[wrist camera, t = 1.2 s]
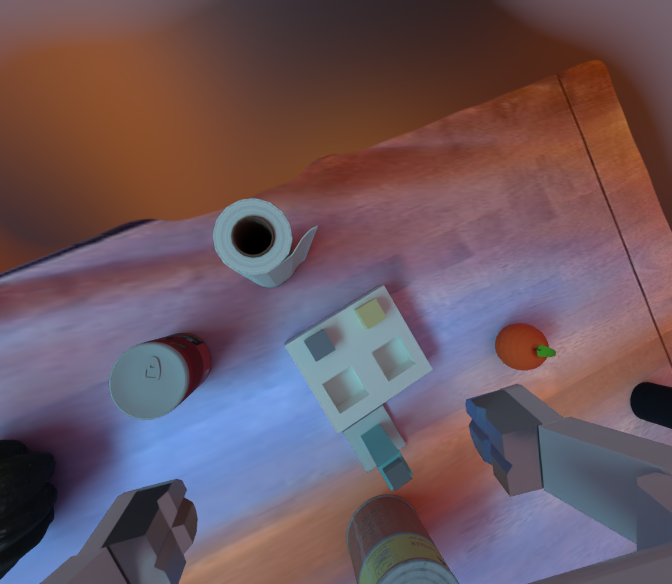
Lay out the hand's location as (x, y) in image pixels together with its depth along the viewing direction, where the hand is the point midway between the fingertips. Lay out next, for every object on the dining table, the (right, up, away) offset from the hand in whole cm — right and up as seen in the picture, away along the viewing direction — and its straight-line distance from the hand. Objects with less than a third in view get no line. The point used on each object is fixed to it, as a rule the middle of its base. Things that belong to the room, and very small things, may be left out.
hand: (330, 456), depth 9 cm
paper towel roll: (-9, +8, +37) cm, 39 cm away
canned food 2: (+7, -31, +38) cm, 50 cm away
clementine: (+28, -4, +42) cm, 50 cm away
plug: (+6, -17, +37) cm, 41 cm away
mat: (+6, -17, +38) cm, 42 cm away
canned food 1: (-21, -5, +35) cm, 41 cm away
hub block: (+3, -5, +38) cm, 38 cm away
